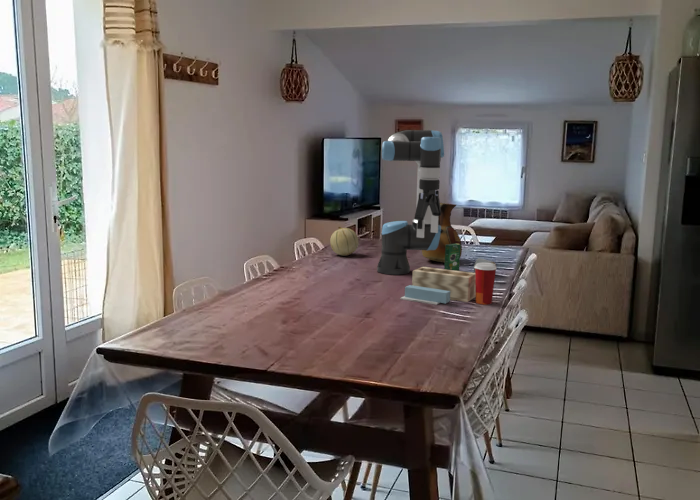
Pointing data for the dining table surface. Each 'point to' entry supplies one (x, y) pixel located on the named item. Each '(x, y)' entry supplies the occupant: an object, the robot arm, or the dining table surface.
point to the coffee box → (452, 257)
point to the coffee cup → (484, 282)
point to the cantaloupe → (344, 241)
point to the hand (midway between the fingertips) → (427, 235)
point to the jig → (447, 282)
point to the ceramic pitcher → (444, 235)
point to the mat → (419, 300)
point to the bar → (427, 294)
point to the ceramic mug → (482, 262)
